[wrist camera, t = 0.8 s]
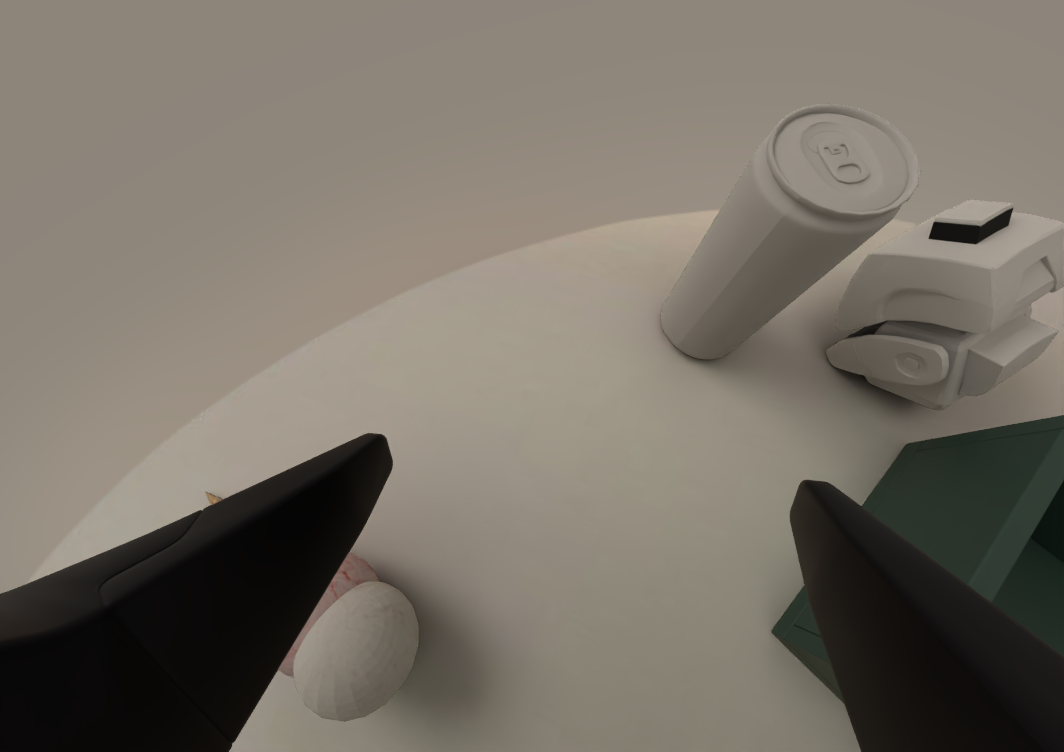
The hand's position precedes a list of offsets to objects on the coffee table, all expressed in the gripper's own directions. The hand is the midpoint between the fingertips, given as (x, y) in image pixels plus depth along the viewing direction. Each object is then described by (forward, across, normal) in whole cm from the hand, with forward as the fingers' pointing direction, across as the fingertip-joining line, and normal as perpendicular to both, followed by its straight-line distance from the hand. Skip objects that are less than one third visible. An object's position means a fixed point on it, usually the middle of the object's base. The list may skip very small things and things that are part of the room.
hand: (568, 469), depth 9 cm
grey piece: (+18, -15, +5) cm, 24 cm away
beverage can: (+17, -5, +3) cm, 18 cm away
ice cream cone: (+3, +14, +12) cm, 19 cm away
